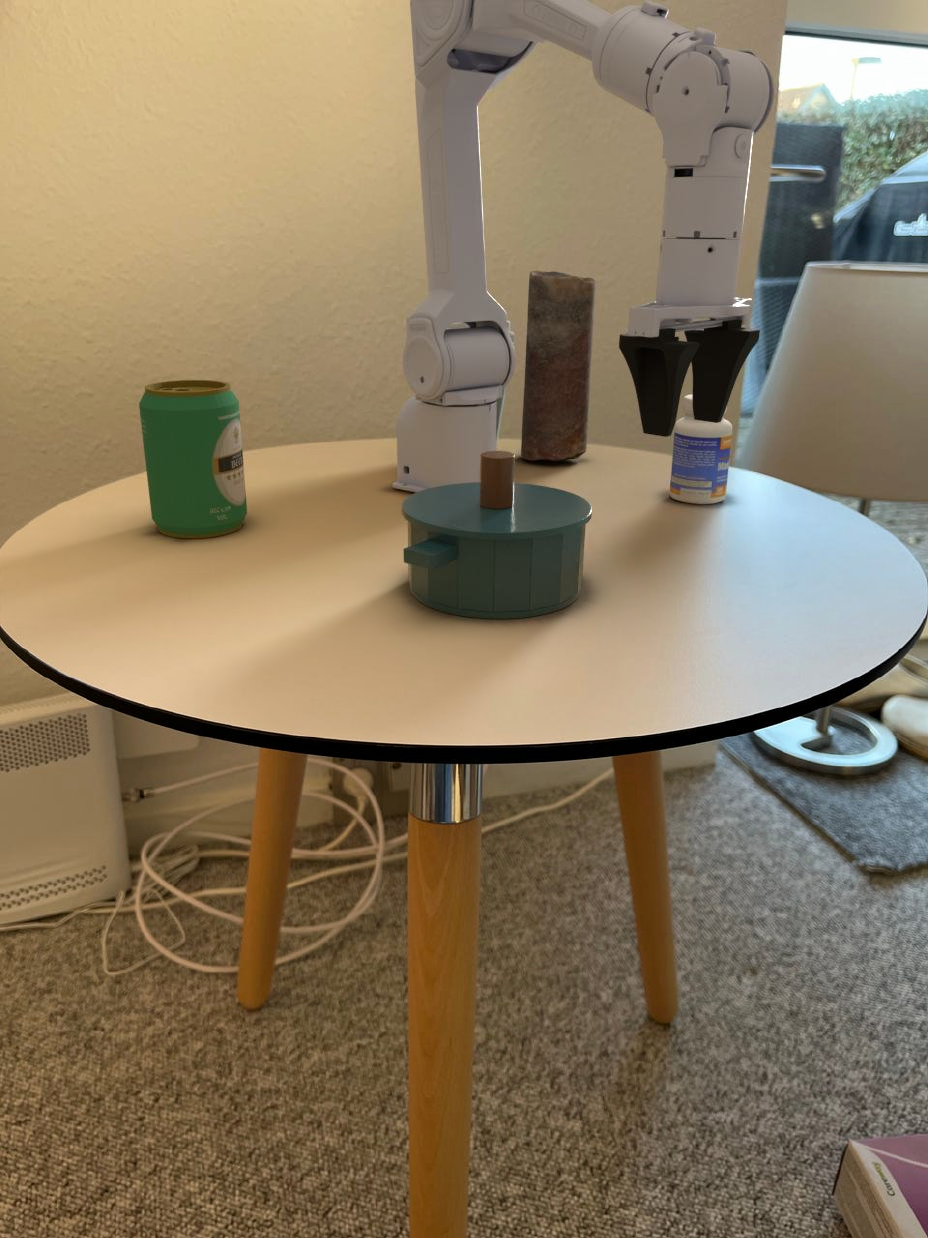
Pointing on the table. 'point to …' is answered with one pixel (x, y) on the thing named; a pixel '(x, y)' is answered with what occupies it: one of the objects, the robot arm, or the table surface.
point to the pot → (495, 573)
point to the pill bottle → (700, 458)
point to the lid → (496, 506)
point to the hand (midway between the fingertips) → (683, 427)
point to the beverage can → (193, 457)
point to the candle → (557, 366)
